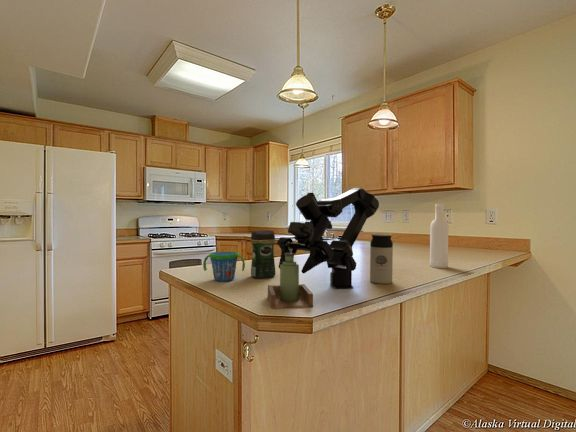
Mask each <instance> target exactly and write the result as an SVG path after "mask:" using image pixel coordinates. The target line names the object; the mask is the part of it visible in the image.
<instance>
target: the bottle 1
mask: <svg viewBox="0 0 576 432" xmlns="http://www.w3.org/2000/svg"><path fill="white" fill-rule="evenodd" d="M294 257H295V254H294V253H285V261H284V262H283V264H281V265H280V268H279V285H280V300H281V301H283V302H296V301H298V300H299V282H300V280H299V279H300V264H298V263H297V261H294V259H295V258H294Z"/></svg>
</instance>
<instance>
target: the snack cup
mask: <svg viewBox="0 0 576 432" xmlns="http://www.w3.org/2000/svg"><path fill="white" fill-rule="evenodd" d="M238 258H240V259H241V262H242V265H241V266H242V267H241V268H242V269H241V271H242V272H244V271H245V268H246V267H245V266H246V263H245V258H244V257H243V256H242V255H241V254H239V253H238V252H237V251H214V252H211V253H210V254H208V255H207V256H205V257H204V260H203V265H202V267H203V271H205V272H206V271H207V270H208V269H207V261H208V259H210V262H211V267H212V275H213V278H214V281H216V282H229V281H233V280H234V279H235V277H236V276H235V275H236V269H237V262H238Z"/></svg>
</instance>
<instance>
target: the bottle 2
mask: <svg viewBox="0 0 576 432" xmlns="http://www.w3.org/2000/svg"><path fill="white" fill-rule="evenodd" d="M434 209H435V210H434V212H435V215H434V216H435V217H434V219H433V220H432V221H431V223H430V226H429V229H430V230H429V231H430V232H429V267H431V268H436V269H447V268H449V223H448V222H447V220H445V218H444V215H445V214H444V212H445V210H444V209H445V205H444V204H443V203H435V205H434Z"/></svg>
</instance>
